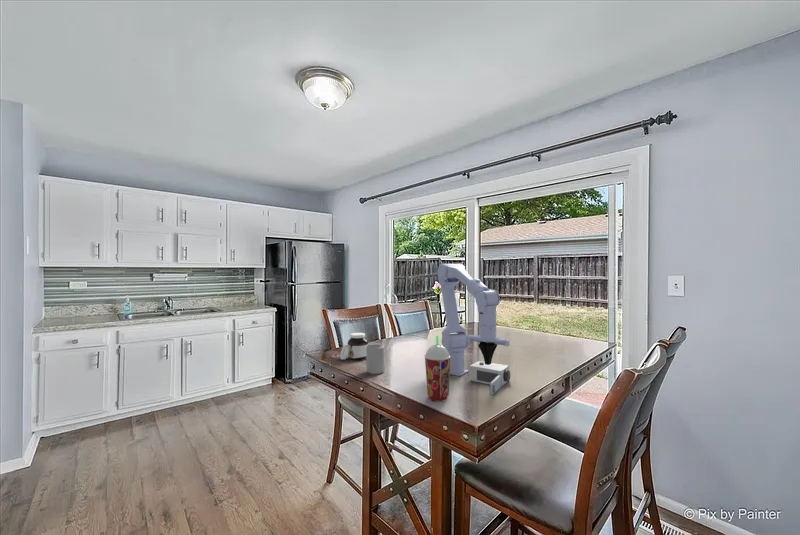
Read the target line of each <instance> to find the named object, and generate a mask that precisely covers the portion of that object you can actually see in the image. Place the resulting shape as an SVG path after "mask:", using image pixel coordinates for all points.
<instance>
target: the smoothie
mask: <svg viewBox="0 0 800 535" xmlns="http://www.w3.org/2000/svg"><path fill="white" fill-rule="evenodd" d="M435 341H436V342H435V344H434V345H431V346H430V347H428V348H427V350H426V353H425V355H424V364H425V378H426V390H427V396H428V397H429V400H430V401H434V402H444V401H446V400H448V399H447V398H448V396H449V392H450V376H451V374H450V358H451V356H450V355H449V353H448V351H447V349H446V348H445V347H444V346H442V344H439V335H438V336H436V338H435Z"/></svg>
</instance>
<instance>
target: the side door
mask: <svg viewBox="0 0 800 535" xmlns="http://www.w3.org/2000/svg"><path fill="white" fill-rule="evenodd" d="M501 386H502V379H501V375H500V374H499V375H498V376H497V377H496V378H495V379H494V380H493V381H492V382H491V383H490V384H489V395H491V396H493V395H494V394H495V393H496V392H497V391H498V390H499V389H500V388H502V387H503V386H502V387H501Z"/></svg>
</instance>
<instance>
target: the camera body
mask: <svg viewBox="0 0 800 535" xmlns="http://www.w3.org/2000/svg"><path fill="white" fill-rule="evenodd" d="M499 374H500V375H501V379H502V386H501V387H500V388H502V387H503V386H504V385H505V384H507V383H508V382H510V380H511V371H510V365H507V364H500V363H496V362H495V363H494V362H491V364H490V365H486V364H485V361H482V360H481V361H480V360H477V361H476V362H474V363H472V364H470V365H469V381H470V382H471V381H472V382H476V383H482V384H486V385H490V383H491V382H492V381H493V380H494V379H495V378H496V377H497V376H498V375H499Z"/></svg>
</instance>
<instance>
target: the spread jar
mask: <svg viewBox="0 0 800 535" xmlns="http://www.w3.org/2000/svg"><path fill="white" fill-rule="evenodd" d="M368 343H369V341H368V339H367V338H366V333H364V332H352V333H350V338H349V339H348V341H347V344H344V345H343V346H342V348H341V351H340V360H343V361H345V360H346V359H347V358H349V359H350V360H352V361H356V360H358V361H364V360H366V347H367V346H368Z"/></svg>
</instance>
